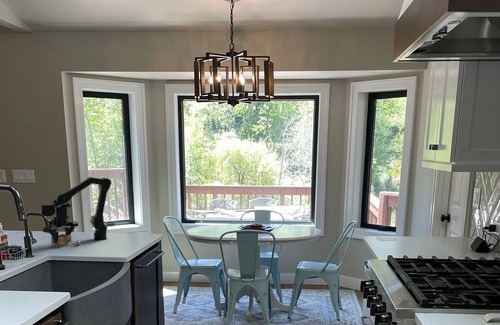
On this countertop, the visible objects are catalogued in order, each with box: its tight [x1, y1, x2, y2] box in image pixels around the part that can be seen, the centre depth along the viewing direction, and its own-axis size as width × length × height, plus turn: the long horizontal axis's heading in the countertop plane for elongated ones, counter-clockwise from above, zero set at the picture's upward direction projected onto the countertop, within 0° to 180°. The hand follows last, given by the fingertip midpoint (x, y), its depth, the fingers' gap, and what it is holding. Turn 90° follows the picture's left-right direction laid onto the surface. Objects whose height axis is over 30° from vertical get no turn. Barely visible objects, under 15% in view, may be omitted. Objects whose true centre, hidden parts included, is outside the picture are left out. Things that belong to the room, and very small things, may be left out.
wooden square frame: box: [50, 233, 72, 245], centre depth 173 cm, size 7×7×4 cm
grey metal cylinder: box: [75, 240, 81, 247], centre depth 174 cm, size 2×2×2 cm
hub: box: [53, 236, 69, 248], centre depth 173 cm, size 7×7×5 cm
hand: (61, 241), depth 173 cm, fingers closed on wooden square frame, 7 cm apart
